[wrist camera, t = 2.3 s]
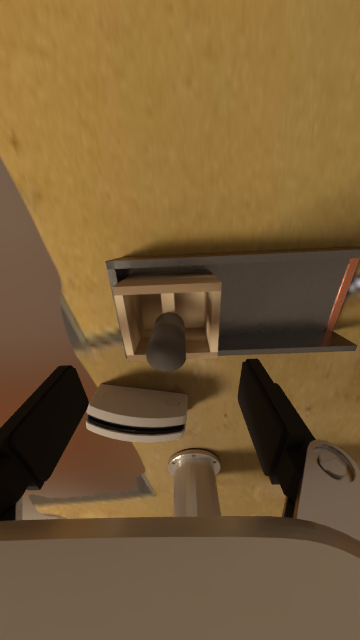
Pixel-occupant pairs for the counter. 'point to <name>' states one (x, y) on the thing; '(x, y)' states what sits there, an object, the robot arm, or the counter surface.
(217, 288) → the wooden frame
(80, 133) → the counter surface
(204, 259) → the tray
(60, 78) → the counter surface
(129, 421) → the white slotted curved block
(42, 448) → the robot arm
